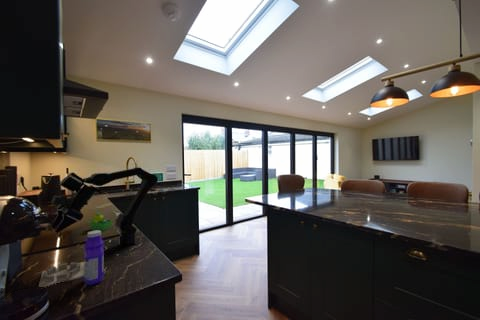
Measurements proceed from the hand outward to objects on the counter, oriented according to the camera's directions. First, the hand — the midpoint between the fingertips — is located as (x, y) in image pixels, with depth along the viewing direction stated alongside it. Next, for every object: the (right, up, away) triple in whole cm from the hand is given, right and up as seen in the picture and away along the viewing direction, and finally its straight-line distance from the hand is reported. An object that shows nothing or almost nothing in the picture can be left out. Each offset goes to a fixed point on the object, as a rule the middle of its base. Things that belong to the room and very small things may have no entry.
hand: (53, 230), depth 86 cm
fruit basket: (-12, -15, +46) cm, 50 cm away
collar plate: (+12, -14, -7) cm, 20 cm away
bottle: (+25, -14, -12) cm, 31 cm away
